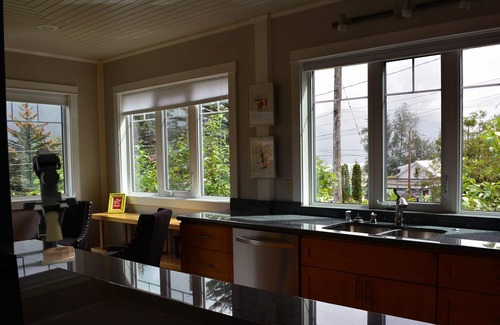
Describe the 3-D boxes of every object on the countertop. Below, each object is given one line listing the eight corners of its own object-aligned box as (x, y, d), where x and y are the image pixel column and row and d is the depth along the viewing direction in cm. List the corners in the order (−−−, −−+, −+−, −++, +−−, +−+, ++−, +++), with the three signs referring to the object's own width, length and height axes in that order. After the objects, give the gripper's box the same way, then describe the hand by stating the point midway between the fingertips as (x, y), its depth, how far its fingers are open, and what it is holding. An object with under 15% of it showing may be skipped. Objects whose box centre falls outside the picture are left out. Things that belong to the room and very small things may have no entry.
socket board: (44, 259, 167) (43, 248, 167) (75, 255, 171) (74, 244, 171) (42, 265, 157) (41, 254, 157) (74, 260, 161) (73, 249, 161)
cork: (58, 240, 162) (55, 212, 162) (42, 242, 162) (40, 213, 162) (65, 237, 168) (63, 210, 168) (50, 239, 168) (48, 211, 168)
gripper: (19, 188, 154) (22, 231, 154) (74, 183, 160) (78, 225, 161) (23, 187, 164) (27, 228, 165) (76, 183, 171) (79, 221, 171)
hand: (53, 225), depth 165 cm, fingers closed on cork, 5 cm apart
